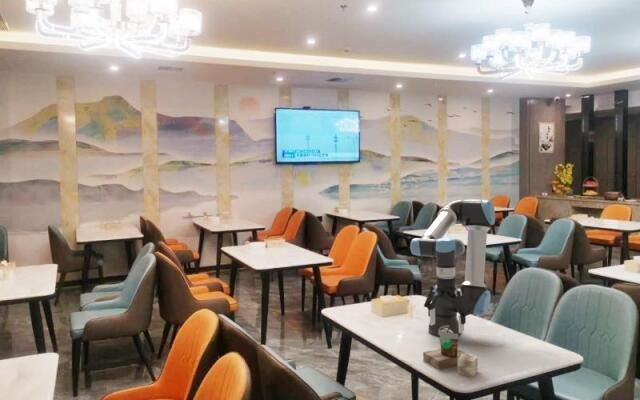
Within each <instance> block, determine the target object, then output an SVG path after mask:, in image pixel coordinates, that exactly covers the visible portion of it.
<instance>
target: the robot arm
mask: <svg viewBox="0 0 640 400" xmlns="http://www.w3.org/2000/svg"><path fill="white" fill-rule="evenodd" d="M495 212H496V211H495V206H494V204H493V202H492V201H491V200H488V199H456V200H453V201H450V202H448V203H447V204H444V206H443V207H441V209H439V211H438V212H437V215H436V218H435V219H434V221H433V222H432V223H431V224H430V226H429V227H428V228H427V230H426V231H425V232H424V234H423V235H422V236H421V237H420V238H419V237H415V238H412V239H411V241H410V247H409V249H410V253H411V255H413V256H419V257H435V258H436V259H435V263H436V265H435V266H436V284H435V285H433V286H430V287H429V293H428V294H427V295H428V296H427V297H426V300H425V301H424V304H423V307H424V308H426V309H427V314H428V317H429V325H428V327H427V328H428V333H429V334H430V335H432V336H437V337H440V335H439V334H438V331H439V329H440V327H442V326H446V325H449V328H450V329H451V330H453V331H454V332H455V334H458V336H460V335H461V334H462V333H464V331H465V324H466V322H467V316H470V315H471V316H485V315H486V313H488V311H489V309H490V308H489V307H490V303H491V300H492V299H491V292H490V290H488V287H487V285H486V284H485V283H484V282H485V269H486V252H487V237H488V235H487V234H488V232H489V231H490V230H491V227H492V225H493V226H494V225H495V222H496V213H495ZM456 224H464V227H465V229H466V230H467V242H466V243H467V244H466V247H465V244H464V242H463V241H462V240H461V239H458V238H450V237H447V238H446V237H444V236H445V235H446V233H448V231H449V229H450V228H451V227H453V226H455V225H456ZM465 249H466V250H465ZM465 251H466V257H465V272H464V273H465V274H464V281H463V282H462V283H461V284H460V287H458V285H457V283H456V282H457V281H456V280H457V279H456V275H457V273H456V258H460V257H461V256H462V255H463V254H464V253H465ZM457 314H458V315H457Z"/></svg>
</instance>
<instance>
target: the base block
mask: <svg viewBox="0 0 640 400" xmlns="http://www.w3.org/2000/svg"><path fill="white" fill-rule="evenodd" d="M462 354H465V355H470V354H468V353H466V352H465V351H462V350H461V349H458V351H457V357H447V356H444V355H442V354H441V348H440V349H433V350H429V351H428V350H427V351H423V354H422V355H423V356H422V357H423V358H422V359H423V362H425V363H427V364H428V365H430V366H432V367H433V368H435V369H437V370H439V371H440V370H445V369H449V368H454V367H458V358H459V357H460V356H461V355H462Z"/></svg>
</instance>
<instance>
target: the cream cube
mask: <svg viewBox="0 0 640 400" xmlns="http://www.w3.org/2000/svg"><path fill="white" fill-rule="evenodd" d="M478 357H479V356H475V355H470V354H469V355H465V354H462V355H461V356H460V357H459V358H458V366H457V375H462V376H466V375H468V376H467V377H471V376H474V377H475V375H476V374H477V373H478V372H479V371H478V370H479V369H478V363H479V361H478ZM477 371H478V372H477Z"/></svg>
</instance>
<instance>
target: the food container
mask: <svg viewBox="0 0 640 400" xmlns="http://www.w3.org/2000/svg"><path fill="white" fill-rule="evenodd" d="M438 334H439V335H440V336H439V342H440V343H439V344H440V349H441V354H442V355H444V356H447V357H457V351H458V348H459V347H458V346H459V345H458V343H459V335H458V334H455V332H454V331H453V330H451V329H450V328H449V325H446V326H442V327H440V329H439V331H438Z"/></svg>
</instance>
